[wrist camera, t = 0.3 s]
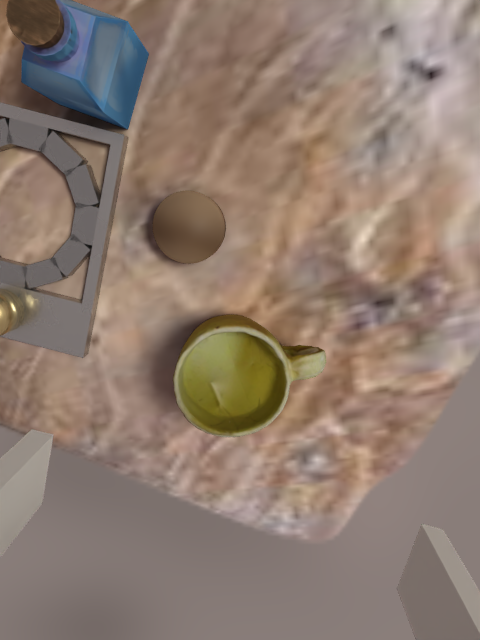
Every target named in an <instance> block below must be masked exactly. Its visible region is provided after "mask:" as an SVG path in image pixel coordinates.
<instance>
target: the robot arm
mask: <svg viewBox="0 0 480 640" xmlns="http://www.w3.org/2000/svg"><path fill="white" fill-rule="evenodd" d="M52 441H53V434H49V433H45V432H41V431H37V430H33V429H32V430H31V431H29V432H28V433H27V434H26V435H25V436H24V437H23V438H22V439H21V440H20V441H19V442H17V443H16V444H15V445H14V446H13V447H12V448H11V449H10V450H9V451H8V452H7V453H5V454H4V455H3V456H2V457H1V458H0V557H1V556H2V555H3V553H4V552H5V551H6V550H7V548H8V547H9V546H10V545H11V543H12V542H13V541H14V539H15V538H16V537H17V535H18V534H19V533H20V532H21V530H22V529H23V528H24V526H25V525H26V524H27V522H28V521H29V520H30V518H31V517H32V516H33V515H34V513H35V512H36V511H37V509H38V508H39V507H40V506H41V504H42V501H43V496H44V489H45V484H46V478H47V471H48V465H49V459H50V453H51V447H52ZM397 590H398V593H399V596H400V599H401V601H402V604H403V607H404V609H405V612H406V615H407V617H408V620H409V623H410V625H411V628H412V631H413V634H414V636H415V639H416V640H480V591H479V589H478V588H477V586H476V584H475V583H474V581H473V579H472V578H471V576H470V574H469V573H468V571H467V569H466V567H465V566H464V564H463V563H462V561H461V559H460V557H459V556H458V554H457V552H456V551H455V549H454V547H453V546H452V544H451V542H450V540H449V539H448V537H447V536H446V534H445V532H444V530H443V529H439V528H435V527H431V526H427V525H423V524H421V527H420V530H419V532H418V535H417V537H416V540H415V543H414V545H413V548H412V551H411V553H410V556H409V558H408V561H407V564H406V566H405V569H404V572H403V574H402V577H401V579H400V582H399V584H398V587H397Z"/></svg>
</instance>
